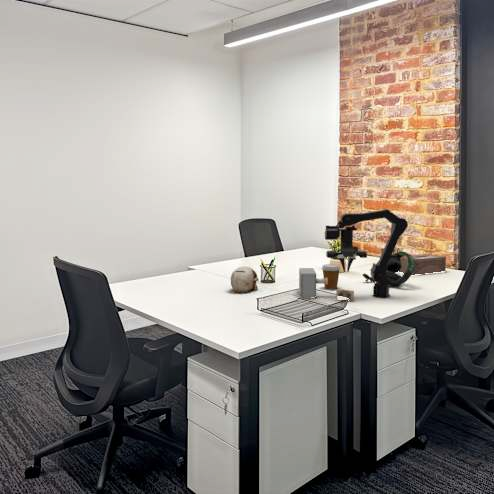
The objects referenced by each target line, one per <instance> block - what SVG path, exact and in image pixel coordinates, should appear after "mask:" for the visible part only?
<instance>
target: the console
mask: <svg viewBox="0 0 494 494" xmlns="http://www.w3.org/2000/svg"><path fill="white" fill-rule="evenodd" d="M298 271H299V272H298V276H299V277H298V281H299V282H298V289H300V292H299V295H301V296H300V298H301V299H312V298H311V297H315V296H316V297H317V284H316V279H317V272H316V271H315V269H314V267H300V268H299V270H298Z"/></svg>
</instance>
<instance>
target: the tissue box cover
mask: <svg viewBox="0 0 494 494" xmlns="http://www.w3.org/2000/svg"><path fill="white" fill-rule="evenodd" d="M410 255H411V256H412V257H413V259H414V270H413V272H412V274H411V275H415V274H425V273H433V272H441V271H445V272H446V267H447V266H446V265H447V256H445V255H443V256H442V255H437V254H431V253H423V254H413V255H412V254H410ZM400 260H401V261H400V262H401V265H402V267H401V269H400V270H399V272H403V273H405V271H406V270H407V267H408V264H407V260H408V258H407V257H406V256H403V257H401V258H400Z"/></svg>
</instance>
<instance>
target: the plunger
mask: <svg viewBox="0 0 494 494" xmlns="http://www.w3.org/2000/svg"><path fill="white" fill-rule="evenodd" d="M317 284H323V285H324V284H326V285H327V284H328V278H325V279H324V278H316V285H317Z"/></svg>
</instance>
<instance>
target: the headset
mask: <svg viewBox="0 0 494 494" xmlns="http://www.w3.org/2000/svg"><path fill="white" fill-rule="evenodd" d="M411 255H412V254H410V253H408V252H405V251H397V252H395V253H393V254H392V255H391V257H390V260H389V262H388V264H387V272H386V276H385V277H386V278H387V279H388V280H389V281H390V283H389V287H400V286H401V285H403V284H405V283H406V282H407V281H408V280H409V279H410V278H411V277H412V276H411V274H412V272H413V270H414V259H413V257H412V256H411ZM403 256H406V257H407V258H408V260H407V264H408V267H407V270H406V271H405V273H404V274H402V275H401V274H399V273H396V272H398V271H399V270H400V269H401V267H402V265H401V262H400V261H401V260H400V258H401V257H403ZM362 277H363V278H365V279H366V280H365V282H366V283H368V282H369V281H370V282H371V283H373V282H375V280H374V279H373V278H372V277H371V276H369V275H368V274H367V273H363V274H362ZM372 281H373V282H372ZM375 283H376V282H375Z"/></svg>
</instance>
